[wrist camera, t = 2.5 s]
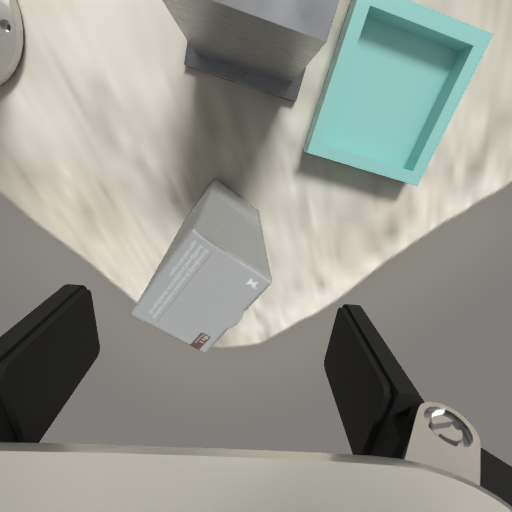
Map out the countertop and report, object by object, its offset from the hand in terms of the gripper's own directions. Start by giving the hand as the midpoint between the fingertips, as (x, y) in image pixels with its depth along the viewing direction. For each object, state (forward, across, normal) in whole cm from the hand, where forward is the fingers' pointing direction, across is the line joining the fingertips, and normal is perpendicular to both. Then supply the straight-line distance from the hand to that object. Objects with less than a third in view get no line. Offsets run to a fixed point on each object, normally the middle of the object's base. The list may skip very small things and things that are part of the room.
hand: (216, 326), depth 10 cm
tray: (+23, -14, -12) cm, 29 cm away
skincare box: (+23, +2, +3) cm, 23 cm away
